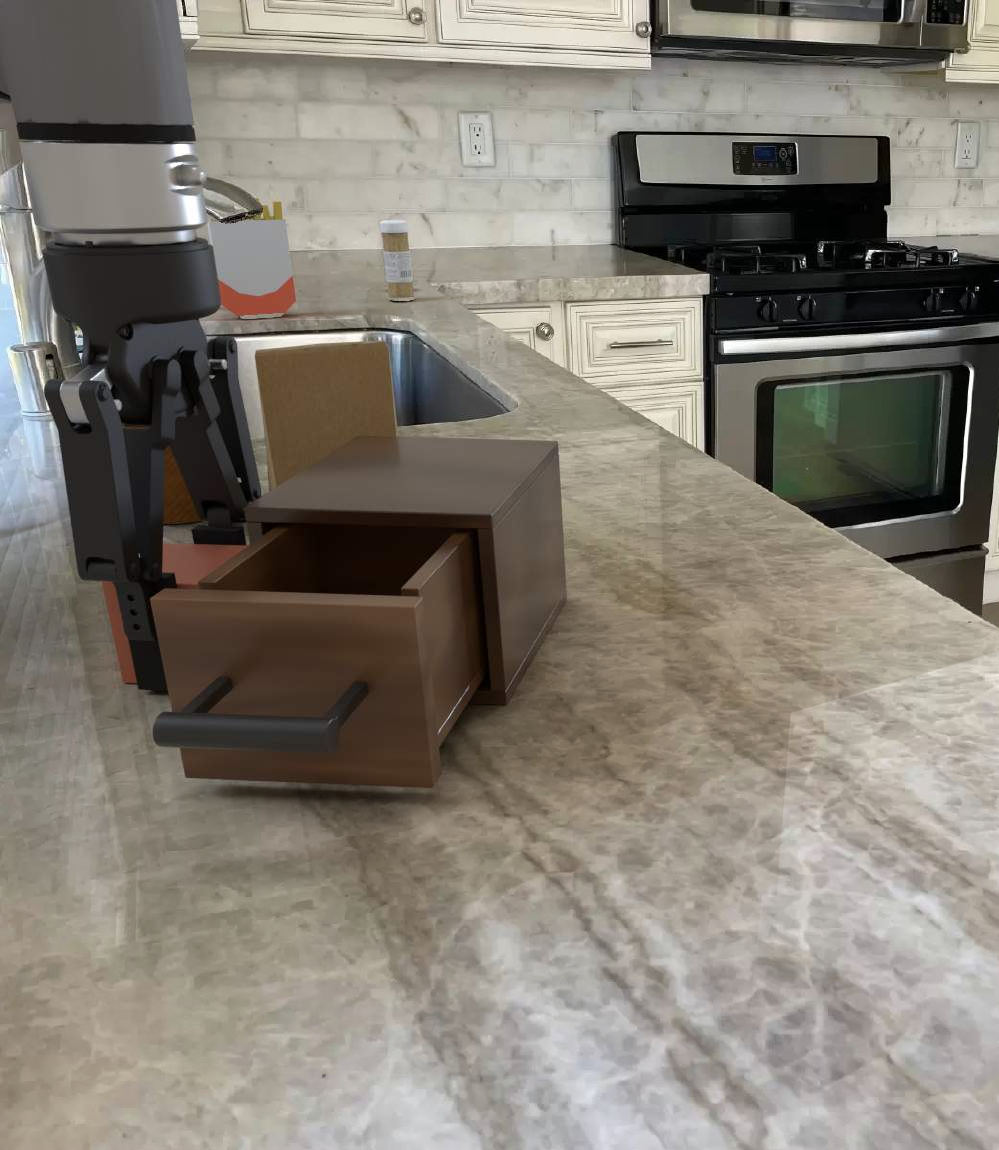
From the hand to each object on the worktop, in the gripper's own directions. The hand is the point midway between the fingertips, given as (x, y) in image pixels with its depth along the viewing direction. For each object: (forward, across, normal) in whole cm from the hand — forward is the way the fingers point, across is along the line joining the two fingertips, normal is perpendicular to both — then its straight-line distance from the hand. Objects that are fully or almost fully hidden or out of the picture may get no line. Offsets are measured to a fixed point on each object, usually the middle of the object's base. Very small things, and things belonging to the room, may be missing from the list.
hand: (202, 657), depth 65 cm
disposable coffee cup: (+1, +26, +15) cm, 30 cm away
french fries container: (+1, +122, +56) cm, 134 cm away
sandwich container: (+1, +24, +2) cm, 24 cm away
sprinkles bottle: (+1, +144, +40) cm, 149 cm away
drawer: (-1, -9, -12) cm, 15 cm away
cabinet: (0, +4, -12) cm, 13 cm away
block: (0, 0, 0) cm, 0 cm away
